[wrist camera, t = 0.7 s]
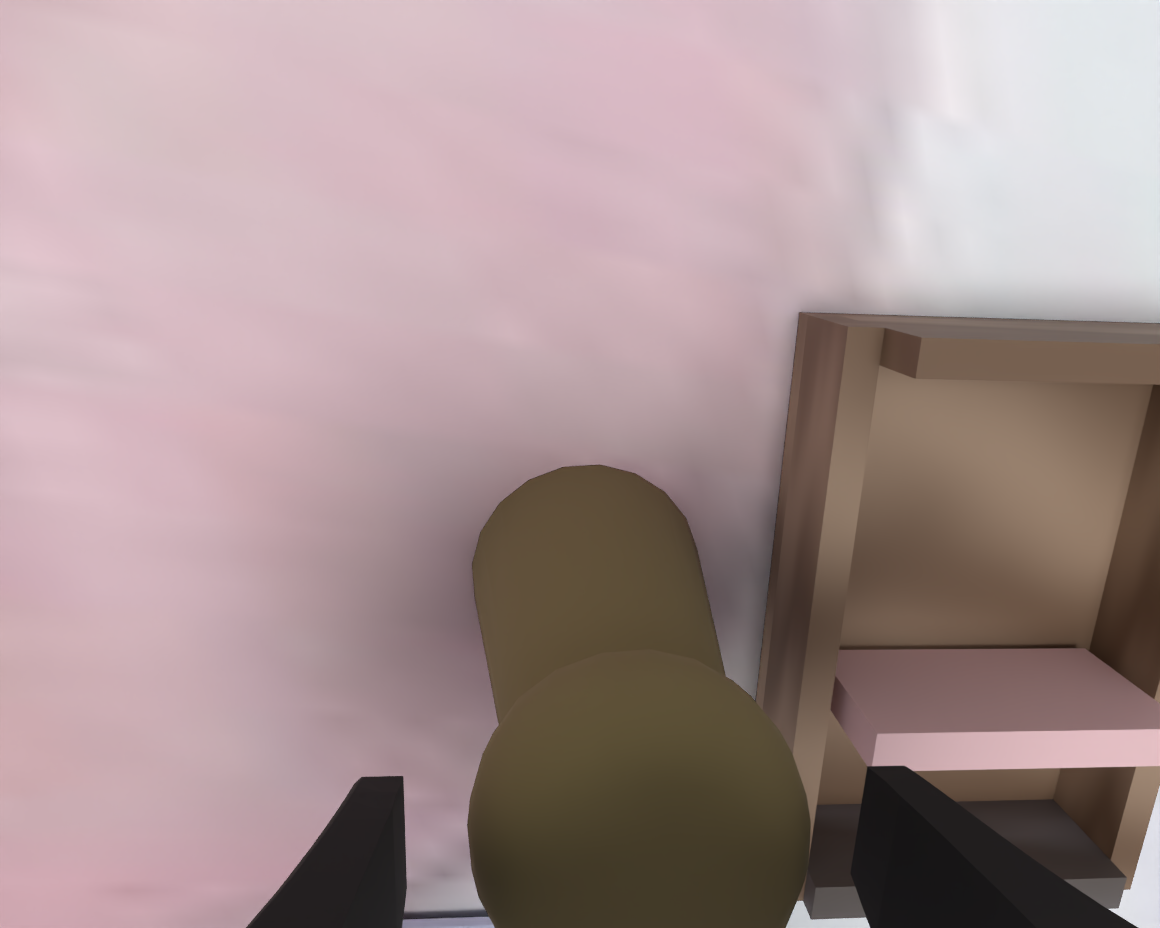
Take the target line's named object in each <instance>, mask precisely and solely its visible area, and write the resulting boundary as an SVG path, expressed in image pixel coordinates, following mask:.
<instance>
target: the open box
mask: <svg viewBox="0 0 1160 928" xmlns="http://www.w3.org/2000/svg"><path fill="white" fill-rule="evenodd" d="M1052 648H1085V649H1086V650H1088V651H1089V652H1090V653H1092V654H1093V655H1095V656H1096V657H1097V658H1099V659H1100V660H1101V661H1103V662H1104V663H1105V664H1107V665H1108V666H1110V667H1111V668H1112V669H1114V670H1115V671H1116V672H1118V673H1119V674H1120V675H1122V676H1123V677H1124V678H1126V679H1127V680H1129V681H1130V682H1131V683H1133V684H1134V685H1135V686H1137V687H1138V688H1139V689H1141V690H1142V691H1144V692H1145V693H1146V694H1148V695H1149V696H1150V697H1152V698H1153V699H1154V700H1156V701H1157V702H1158V703H1160V323H1130V322H1097V321H1064V320H1031V319H999V318H966V317H933V316H901V315H868V314H835V313H802V312H800V313H799V322H798V331H797V340H796V349H795V357H794V366H793V375H792V384H791V393H790V402H789V411H788V420H787V428H786V437H785V446H784V455H783V464H782V473H781V482H780V491H779V500H778V508H777V517H776V526H775V535H774V544H773V553H772V562H771V571H770V580H769V588H768V597H767V606H766V615H765V624H764V633H763V642H762V651H761V660H760V668H759V677H758V686H757V695H756V703H757V704H758V705H759V706H760V708H761V709H762V710H763V711H764V712H765V714H766V715H767V716H768V717H769V718H770V719H771V721H772V722H773V723H774V724H775V725H776V726H777V728H778V729H779V730H780V732H781V734H782V736H783V737H784V739H785V741H786V743H787V745H788V746H789V748H790V750H791V752H792V754H793V757H794V760H795V763H796V766H797V768H798V771H799V774H800V777H801V780H802V783H803V786H804V789H805V792H806V795H807V801H808V807H809V814H810V820H811V830H810V850H809V866H808V870H807V873H806V876H805V880H804V883H803V887H802V890H801V892H800V895H799V897H798V900H797V901H804V904H805V906H806V908H807V911H808V913H809V915H810V918H811V919H835V918H862V917H866V915H865V913H864V910H863V907H862V904H861V902H860V899H859V896H858V893H857V890H856V887H855V885H854V882H853V879H852V876H851V873H850V872H851V866H852V860H853V853H854V847H855V841H856V835H857V828H858V822H859V816H860V809H861V803H862V797H863V790H864V784H865V778H866V772H867V765H866V763H865V762H864V760H863V759H862V757H861V756H860V754H859V753H858V751H857V750H856V748H855V747H854V745H853V744H852V742H851V741H850V739H849V738H848V736H847V734H846V733H845V731H844V730H843V728H842V727H841V725H840V724H839V722H838V721H837V719H836V718H835V716H834V715H833V713H832V712H831V710H830V709H831V702H832V695H833V688H834V681H835V674H836V667H837V660H838V653H839V650H901V649H1052ZM914 772H915V773H917V774H918V775H920V776H921V777H922V778H924V779H925V780H927V781H928V782H929V783H931V784H932V785H934V786H935V787H936V788H938V789H939V790H940V791H942V792H943V793H944V794H946V795H947V796H948V797H950V798H951V799H952V800H954V801H955V802H956V803H958V804H959V805H961V806H962V807H963V808H965V809H966V810H967V811H969V812H970V813H971V814H973V815H974V816H975V817H977V818H978V819H979V820H981V821H982V822H983V823H985V824H986V825H987V826H989V827H990V828H991V829H993V830H994V831H996V832H997V833H998V834H1000V835H1001V836H1002V837H1004V838H1005V839H1006V840H1008V841H1009V842H1011V843H1012V844H1013V845H1015V846H1016V847H1017V848H1019V849H1020V850H1022V851H1023V852H1024V853H1026V854H1027V855H1029V856H1030V857H1031V858H1033V859H1034V860H1036V861H1037V862H1038V863H1040V864H1041V865H1043V866H1044V867H1046V868H1047V869H1049V870H1050V871H1051V872H1053V873H1054V874H1056V875H1057V876H1059V877H1060V878H1062V879H1063V880H1065V881H1066V882H1068V883H1069V884H1071V885H1072V886H1074V887H1075V888H1077V889H1078V890H1080V891H1081V892H1083V893H1084V894H1086V895H1087V896H1089V897H1090V898H1092V899H1093V900H1095V901H1096V902H1098V903H1099V904H1101V905H1102V906H1104V907H1105V908H1107V909H1110V908H1119V905H1120V901H1121V897H1122V894H1123V890H1126V889H1130V888H1131V884H1132V881H1133V877H1134V874H1135V870H1136V867H1137V863H1138V860H1139V856H1140V853H1141V849H1142V845H1143V842H1144V838H1145V835H1146V831H1147V828H1148V824H1149V821H1150V817H1151V814H1152V810H1153V807H1154V803H1155V800H1156V796H1157V793H1158V789H1159V786H1160V766H1136V767H1087V768H1037V769H987V770H938V771H914Z"/></svg>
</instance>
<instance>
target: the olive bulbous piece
mask: <svg viewBox="0 0 1160 928" xmlns="http://www.w3.org/2000/svg"><path fill="white" fill-rule="evenodd" d="M472 571H473V583H474V594H475V601H476V607H477V612H478V617H479V623H480V628H481V633H482V638H483V644H484V649H485V654H486V660H487V665H488V670H489V676H490V681H491V686H492V691H493V697H494V702H495V707H496V713H497V718H498V723H499V726H498V727H497V728H496V730H495V731H494V733H493V734H492V736H491V738H490V740H489V742H488V744H487V746H486V748H485V751H484V753H483V755H482V758H481V762H480V765H479V769H478V772H477V776H476V779H475V783H474V786H473V790H472V793H471V797H470V804H469V814H468V824H467V827H468V837H469V847H470V857H471V868H472V873H473V877H474V881H475V885H476V888H477V892H478V896H479V898H480V900H481V902H482V904H483V906H484V908H485V910H486V912H487V914H488V916H489V918H490V919H491V921H492V923H493V925H494V927H495V928H786V925H787V923H788V921H789V918H790V916H791V914H792V911H793V909H794V907H795V904H796V902H797V900H798V897H799V895H800V892H801V890H802V887H803V883H804V880H805V876H806V873H807V870H808V866H809V850H810V830H811V820H810V814H809V807H808V801H807V795H806V792H805V789H804V786H803V783H802V780H801V777H800V774H799V771H798V768H797V766H796V763H795V760H794V757H793V754H792V752H791V750H790V748H789V746H788V745H787V743H786V741H785V739H784V737H783V736H782V734H781V732H780V730H779V729H778V728H777V726H776V725H775V724H774V723H773V722H772V721H771V719H770V718H769V717H768V716H767V715H766V714H765V712H764V711H763V710H762V709H761V708H760V706H759V705H758V704H757V703H756V702H755V701H754V699H753V698H752V697H751V696H750V695H749V694H748V693H747V692H746V691H744V690H743V689H742V688H741V687H740V686H739V685H737V684H736V683H735V682H734V681H733V680H731V679H729V678H727V677H726V676H725V671H724V667H723V662H722V658H721V653H720V649H719V644H718V640H717V636H716V631H715V627H714V622H713V618H712V613H711V609H710V604H709V600H708V596H707V591H706V587H705V582H704V578H703V573H702V569H701V564H700V560H699V556H698V551H697V548H696V545H695V542H694V539H693V536H692V533H691V531H690V528H689V525H688V522H687V519H686V518H685V516H684V515H683V514H682V513H681V511H680V510H679V509H678V508H677V506H676V505H675V504H674V503H673V501H672V500H671V499H670V498H669V497H668V495H667V494H666V493H665V492H664V491H662V490H661V489H659V488H658V487H656V486H654V485H653V484H651V483H650V482H648V481H646V480H645V479H643V478H642V477H640V476H638V475H637V474H635V473H631V472H627V471H623V470H619V469H615V468H611V467H607V466H603V465H589V466H573V467H562V468H559V469H557V470H554V471H552V472H549V473H546V474H544V475H541V476H538V477H536V478H533V479H530V480H528V481H527V482H526V483H524V484H523V485H522V486H521V487H519V488H518V489H517V490H516V491H514V492H513V493H512V494H510V495H509V496H508V497H507V498H505V499H504V500H503V501H502V502H500V504H499V505H498V507H497V508H496V510H495V511H494V513H493V514H492V516H491V517H490V519H489V520H488V522H487V523H486V525H485V526H484V528H483V529H482V531H481V532H480V536H479V540H478V544H477V547H476V551H475V555H474V559H473V563H472Z"/></svg>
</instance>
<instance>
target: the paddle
mask: <svg viewBox="0 0 1160 928" xmlns="http://www.w3.org/2000/svg"><path fill="white" fill-rule="evenodd" d="M830 710H831V712H832V713H833V715H834V716H835V718H836V719H837V721H838V722H839V724H840V725H841V727H842V728H843V730H844V731H845V733H846V734H847V736H848V738H849V739H850V741H851V742H852V744H853V745H854V747H855V748H856V750H857V751H858V753H859V754H860V756H861V757H862V759H863V760H864V762H865V763H866V765H867V766H906V767H908V768H909V769H911V770H912V771H938V770H987V769H1037V768H1087V767H1136V766H1160V703H1158V702H1157V701H1156V700H1154V699H1153V698H1152V697H1150V696H1149V695H1148V694H1146V693H1145V692H1144V691H1142V690H1141V689H1139V688H1138V687H1137V686H1135V685H1134V684H1133V683H1131V682H1130V681H1129V680H1127V679H1126V678H1124V677H1123V676H1122V675H1120V674H1119V673H1118V672H1116V671H1115V670H1114V669H1112V668H1111V667H1110V666H1108V665H1107V664H1105V663H1104V662H1103V661H1101V660H1100V659H1099V658H1097V657H1096V656H1095V655H1093V654H1092V653H1090V652H1089V651H1088V650H1086V649H1085V648H1052V649H901V650H839V653H838V660H837V667H836V674H835V681H834V688H833V695H832V702H831V709H830Z"/></svg>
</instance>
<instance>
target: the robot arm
mask: <svg viewBox="0 0 1160 928" xmlns="http://www.w3.org/2000/svg"><path fill="white" fill-rule="evenodd" d="M850 873H851V876H852V879H853V882H854V885H855V887H856V890H857V893H858V896H859V899H860V902H861V904H862V907H863V910H864V913H865V915H866V918H867V920H868V923H869V925H870V928H1138V927H1136V926H1134V925H1133V924H1131V923H1129V922H1128V921H1126V920H1125V919H1123V918H1121V917H1120V916H1118V915H1117V914H1115V913H1113V912H1112V911H1110V910H1109V909H1107V908H1105V907H1104V906H1102V905H1101V904H1099V903H1098V902H1096V901H1095V900H1093V899H1092V898H1090V897H1089V896H1087V895H1086V894H1084V893H1083V892H1081V891H1080V890H1078V889H1077V888H1075V887H1074V886H1072V885H1071V884H1069V883H1068V882H1066V881H1065V880H1063V879H1062V878H1060V877H1059V876H1057V875H1056V874H1054V873H1053V872H1051V871H1050V870H1049V869H1047V868H1046V867H1044V866H1043V865H1041V864H1040V863H1038V862H1037V861H1036V860H1034V859H1033V858H1031V857H1030V856H1029V855H1027V854H1026V853H1024V852H1023V851H1022V850H1020V849H1019V848H1017V847H1016V846H1015V845H1013V844H1012V843H1011V842H1009V841H1008V840H1006V839H1005V838H1004V837H1002V836H1001V835H1000V834H998V833H997V832H996V831H994V830H993V829H991V828H990V827H989V826H987V825H986V824H985V823H983V822H982V821H981V820H979V819H978V818H977V817H975V816H974V815H973V814H971V813H970V812H969V811H967V810H966V809H965V808H963V807H962V806H961V805H959V804H958V803H956V802H955V801H954V800H952V799H951V798H950V797H948V796H947V795H946V794H944V793H943V792H942V791H940V790H939V789H938V788H936V787H935V786H934V785H932V784H931V783H929V782H928V781H927V780H925V779H924V778H922V777H921V776H920V775H918V774H917V773H915V772H914V771H912V770H911V769H909V768H908V767H906V766H867V772H866V778H865V784H864V790H863V797H862V803H861V809H860V816H859V822H858V828H857V835H856V841H855V847H854V853H853V860H852V866H851V872H850ZM406 889H407V882H406V850H405V817H404V785H403V776H386V777H361V778H360V779H359V780H358V781H357V782H356V783H355V784H354V785H353V787H352V789H351V790H350V792H349V793H348V795H347V797H346V798H345V800H344V801H343V803H342V804H341V806H340V807H339V809H338V810H337V812H336V813H335V815H334V816H333V818H332V819H331V820H330V822H329V823H328V825H327V826H326V828H325V829H324V830H323V832H322V833H321V835H320V836H319V837H318V839H317V840H316V842H315V843H314V844H313V846H312V847H311V848H310V850H309V851H308V852H307V853H306V855H305V856H304V857H303V859H302V860H301V861H300V863H299V864H298V865H297V867H296V868H295V869H294V870H293V872H292V873H291V874H290V876H289V877H288V878H287V880H286V881H285V882H284V883H283V885H282V886H281V887H280V888H279V890H278V891H277V892H276V893H275V894H274V896H273V897H272V898H271V899H270V900H269V901H268V903H267V904H266V905H265V906H264V907H263V909H262V910H261V911H260V912H259V913H258V914H257V916H256V917H255V918H254V919H253V920H252V921H251V923H250V924H249V925H248V926H247V927H246V928H495V927H494V925H493V923H492V921H491V919H490V918H489V917H463V918H434V919H406V920H403V915H404V906H405V898H406Z"/></svg>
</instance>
